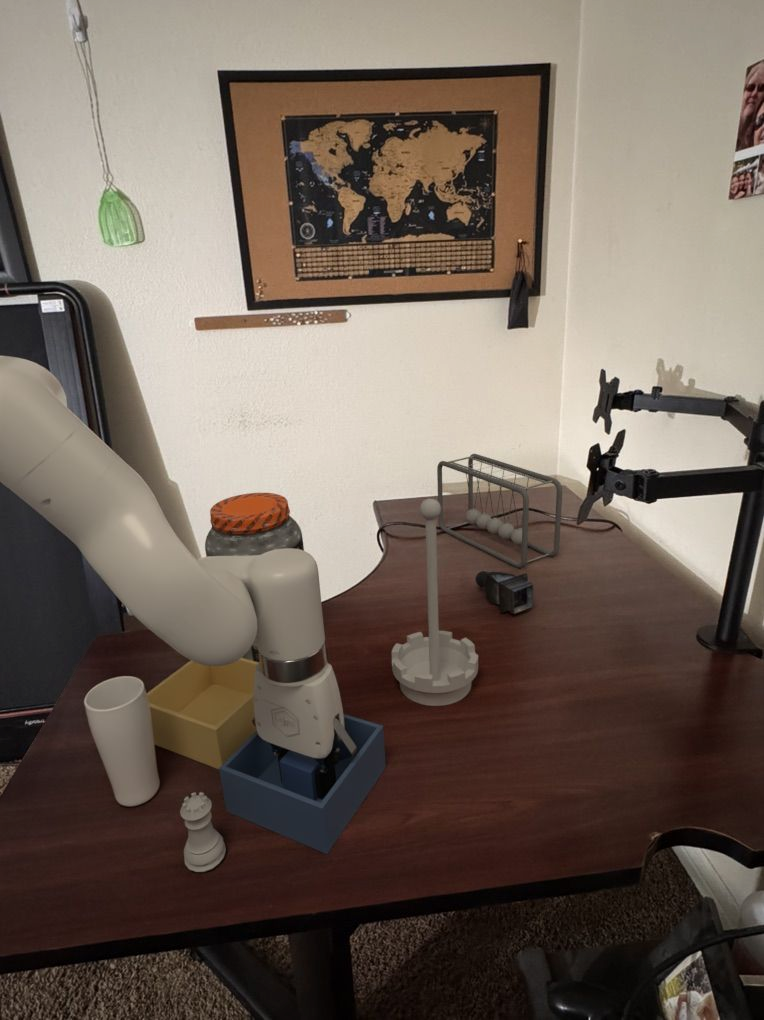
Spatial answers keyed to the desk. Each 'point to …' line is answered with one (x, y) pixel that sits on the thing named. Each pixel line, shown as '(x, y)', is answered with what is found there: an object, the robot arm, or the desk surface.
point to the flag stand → (434, 643)
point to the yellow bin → (205, 710)
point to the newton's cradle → (496, 524)
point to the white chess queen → (201, 835)
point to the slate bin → (309, 822)
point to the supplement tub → (252, 530)
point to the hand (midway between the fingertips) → (308, 781)
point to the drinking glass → (124, 737)
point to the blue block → (299, 774)
